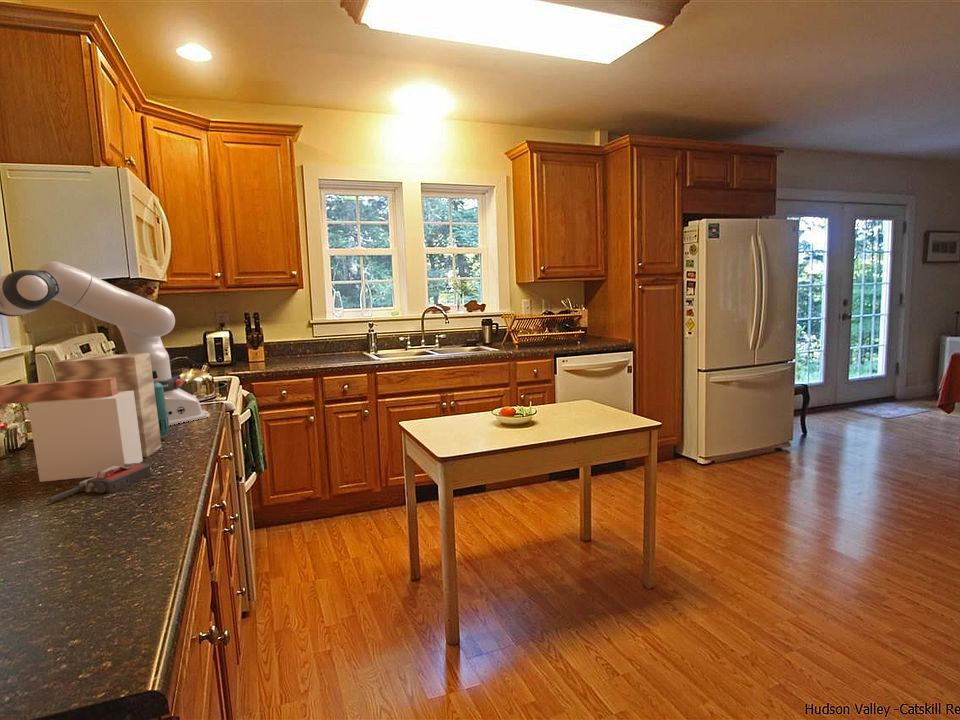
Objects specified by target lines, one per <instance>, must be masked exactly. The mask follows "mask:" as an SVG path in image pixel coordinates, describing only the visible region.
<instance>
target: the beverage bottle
mask: <svg viewBox="0 0 960 720" xmlns="http://www.w3.org/2000/svg"><path fill="white" fill-rule="evenodd" d="M152 374H153V379H156V378H158V376H157V372H156V371H152ZM154 390H155V398H156V406H157V414H158V422H159V430H160V437H163V436H167V435H168V434H169V432H170V426H168V425H169V423H168V417H167V412H166V403H165V402H166V401H165V397H164V391H163V385H162V384H160V383H159V382H154Z"/></svg>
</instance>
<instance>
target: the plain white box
mask: <svg viewBox="0 0 960 720" xmlns="http://www.w3.org/2000/svg"><path fill="white" fill-rule="evenodd" d="M27 409H28V417H29V422H30V428H31V433H32V441H33V447H34V453H35V460H36V465H37V466H36V467H37V472H38V478H39V483H40V482H41V483H42V482H52V481H53V482H54V481H61V480H70V479H71V480H72V479H73V478H74V479H82V478H83V479H84V478H93V477H95V476H97V474H98V472H99V471H102V470H104V469H107V468H109V467H112V466H125V465H124V463H142V462H143V459H144V458H142V451H141V443H140V435H139V428H138V420H137V412H136V405H135V397H134V391H120V392H118V394H116V395H114V396H107V397H93V398H80V399H66V400H53V401H40V402H30V403H28V404H27ZM115 470H116V469H115Z"/></svg>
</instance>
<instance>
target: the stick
mask: <svg viewBox="0 0 960 720" xmlns="http://www.w3.org/2000/svg"><path fill="white" fill-rule="evenodd" d="M116 394H118V391H117V384H116V377H115V378H100V379H86V380H71V381H57V380H56V381H46V382H45V381H43V382H32V383H31V382H29V383H16V384H15V383H14V384H3V385H0V405H8V404H9V405H10V404H11V405H12V404H23V403H26V404H27V403H34V402H40V401H53V400H66V399H80V398H93V397H107V396H114V395H116Z"/></svg>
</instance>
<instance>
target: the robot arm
mask: <svg viewBox="0 0 960 720" xmlns="http://www.w3.org/2000/svg"><path fill="white" fill-rule="evenodd" d="M52 300H53V301H56V302H59V303H62V304H63V305H66V306H68V307H71V308H73V309H75V310H77V311H79V312H81V313H84V314H87V315H88V316H89V317H90V316H91V317H93V318H95V319H97V320H99V321H103V322H106V323H109V324H112V325H115V326H116V327H117V329H118V330H119V333H120V335H121V338H122V341H123V343H124V346H125V350H126V352H127V354H137V353H150V359H151V367H152V371H156V372H157V376H158V378H156V379H153V382H159V383H160V384H162V385H163V391H164V397H165V401H166V402H165V403H166V412H167V417H168V423H169V425H168V427H171V426H175V425H179V424H178V423H180V424H184V423H183V422H185V423H189V422H194V421H197V420H198V419H199V420H202V419H207V417H208V418H210V416H211V415H210V412H209V410H208V411H207V410H204V409H202V405H201V403H200V401H199V399H198V398H197V397H196V396H194V395H192V394H191V393H189V392H187V391H185V390H183V389H181V388H180V387H182V385H184V381H183V380H182V379H179V378H178V379H177V378H174V377H172V372H171V371H172V370H171V361H170V356H169V353H168V351H167V349H166V348H165V346H164V343H163V341H162V339H161V338H162V337H163V336H166V335H168V334H169V333H170V332H172V331H173V329H174V328H175V324H176V318H175V315H174V313H173V311H172V310H171V309H170V308H168V307H166V306H164V305H162V304H160V303H158V302H154V301H153V300H150V299H148V298H145V297H143V296H141V295H138V294H135V293H133V292H130V291H128V290H125V289H122V288H120V287H118V286H115V285H113V284H112V283H109V282H108V281H105V280H103V279H101V278H100V277H97V276H95V275H93V274H92V273H89V272H87V271H85V270H82V269H79V268H77V267H75V266H72V265H69V264H66V263H65V262H64V263H63V262H60V261H55V260H52V261H48V262H46V263H44V264H42V265H41V266H39V267H38V269H36V270H35V269H31V270H30V269H22V270H21V269H20V270H15V271H13V272H11V273H8V274H7V273H6V274H5V275H3V276H0V316H5V317H20V316H23V315H28V314H31V313H34V312H35V311H38V309H41V308H42V307H44V306H46V305H48V304H49V302H50V301H52ZM193 420H194V421H193ZM188 421H189V422H188ZM174 424H175V425H174ZM170 425H171V426H170Z"/></svg>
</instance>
